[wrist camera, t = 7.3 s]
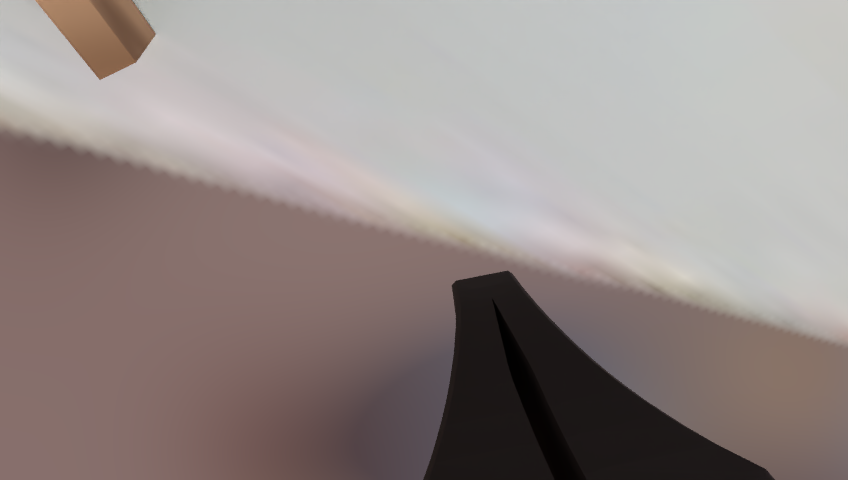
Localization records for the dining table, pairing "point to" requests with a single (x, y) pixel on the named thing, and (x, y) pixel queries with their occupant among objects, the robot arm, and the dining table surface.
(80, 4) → the brown wooden frame
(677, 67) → the dining table surface
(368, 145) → the dining table surface
